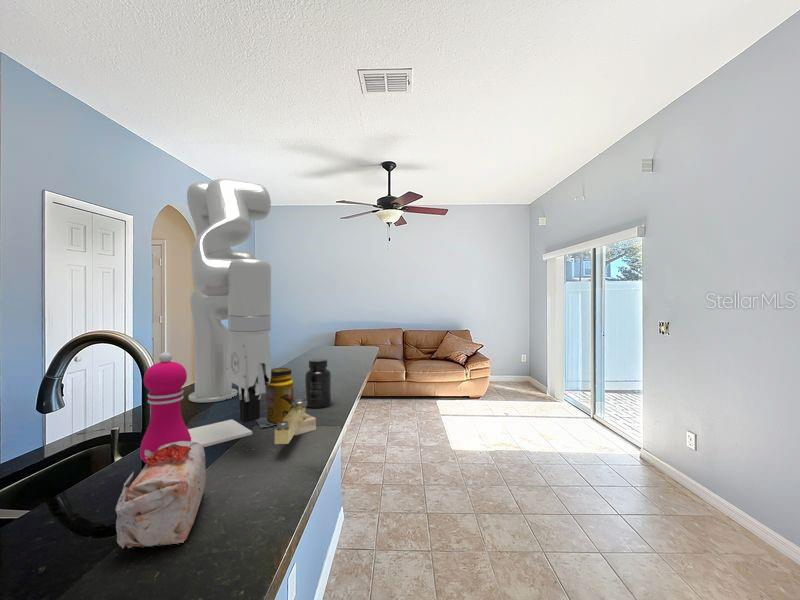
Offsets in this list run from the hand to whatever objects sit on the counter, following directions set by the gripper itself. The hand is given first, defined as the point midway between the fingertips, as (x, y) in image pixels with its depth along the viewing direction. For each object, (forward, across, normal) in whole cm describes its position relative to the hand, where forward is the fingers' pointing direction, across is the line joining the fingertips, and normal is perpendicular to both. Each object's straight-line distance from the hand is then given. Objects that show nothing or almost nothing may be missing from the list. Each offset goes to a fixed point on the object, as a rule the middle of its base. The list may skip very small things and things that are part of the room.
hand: (249, 419), depth 72 cm
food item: (+5, +16, -18) cm, 24 cm away
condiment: (+6, -11, +11) cm, 17 cm away
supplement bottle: (+6, -15, +25) cm, 30 cm away
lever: (+2, +3, +7) cm, 8 cm away
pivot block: (+6, -2, +12) cm, 13 cm away
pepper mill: (+6, +1, -14) cm, 15 cm away
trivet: (+6, -12, -2) cm, 13 cm away
